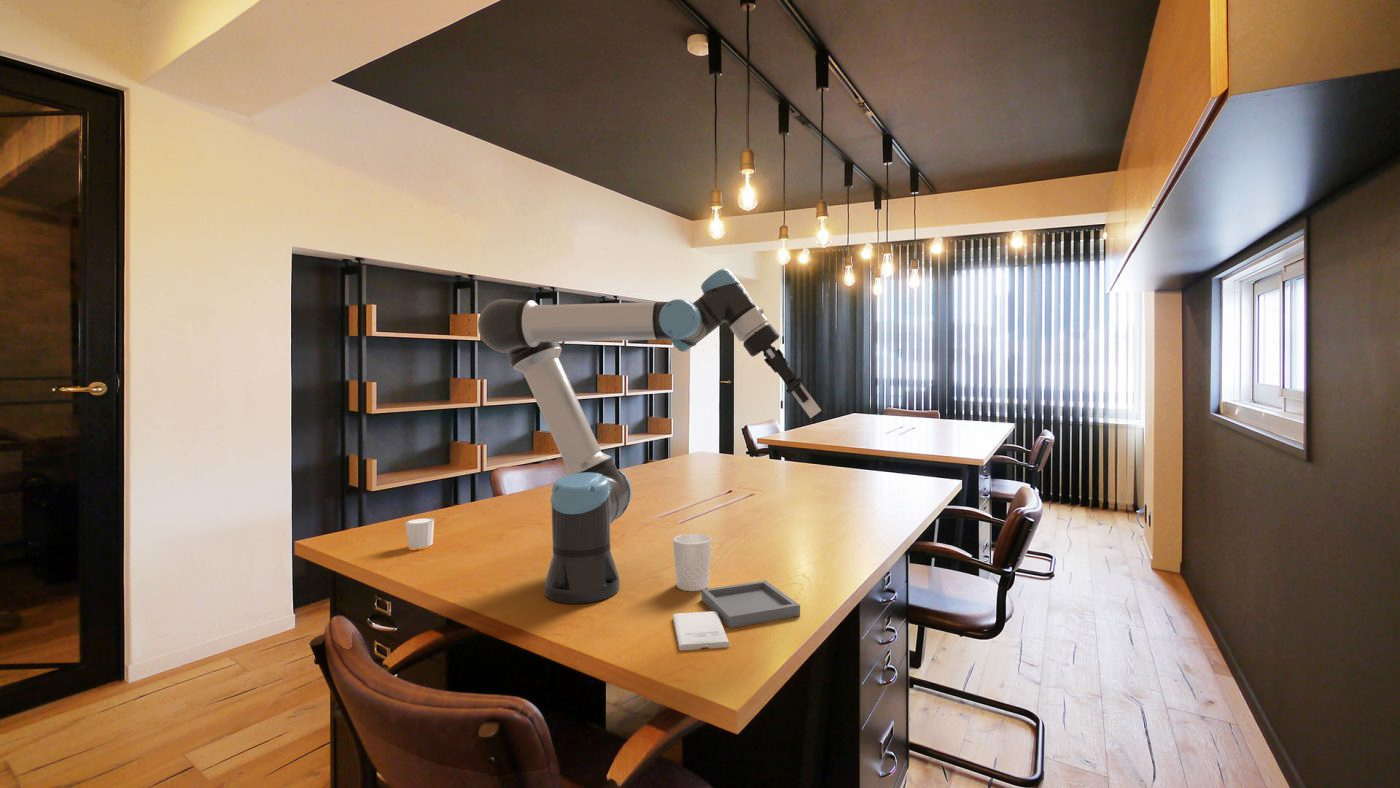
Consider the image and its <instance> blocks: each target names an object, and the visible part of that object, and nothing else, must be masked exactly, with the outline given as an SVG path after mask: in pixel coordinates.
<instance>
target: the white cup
mask: <svg viewBox="0 0 1400 788" xmlns="http://www.w3.org/2000/svg"><path fill="white" fill-rule="evenodd" d="M711 545H712V537H710V536H709V535H707V534H700V533H685V534H679V535H677V536H675V537H673V557H674V559H673V560H674V565H675V566H674V568H675V569H674V570H675V571H674V572H675V578H676V579H675V581H676V587H677V588H678V589H679V590H682V591H687V592H700V591H702V590H704V589H708V587H709V585H710V574H711V573H710V571H711V556H712V555H711V551H712V548H711V547H712V546H711Z"/></svg>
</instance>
